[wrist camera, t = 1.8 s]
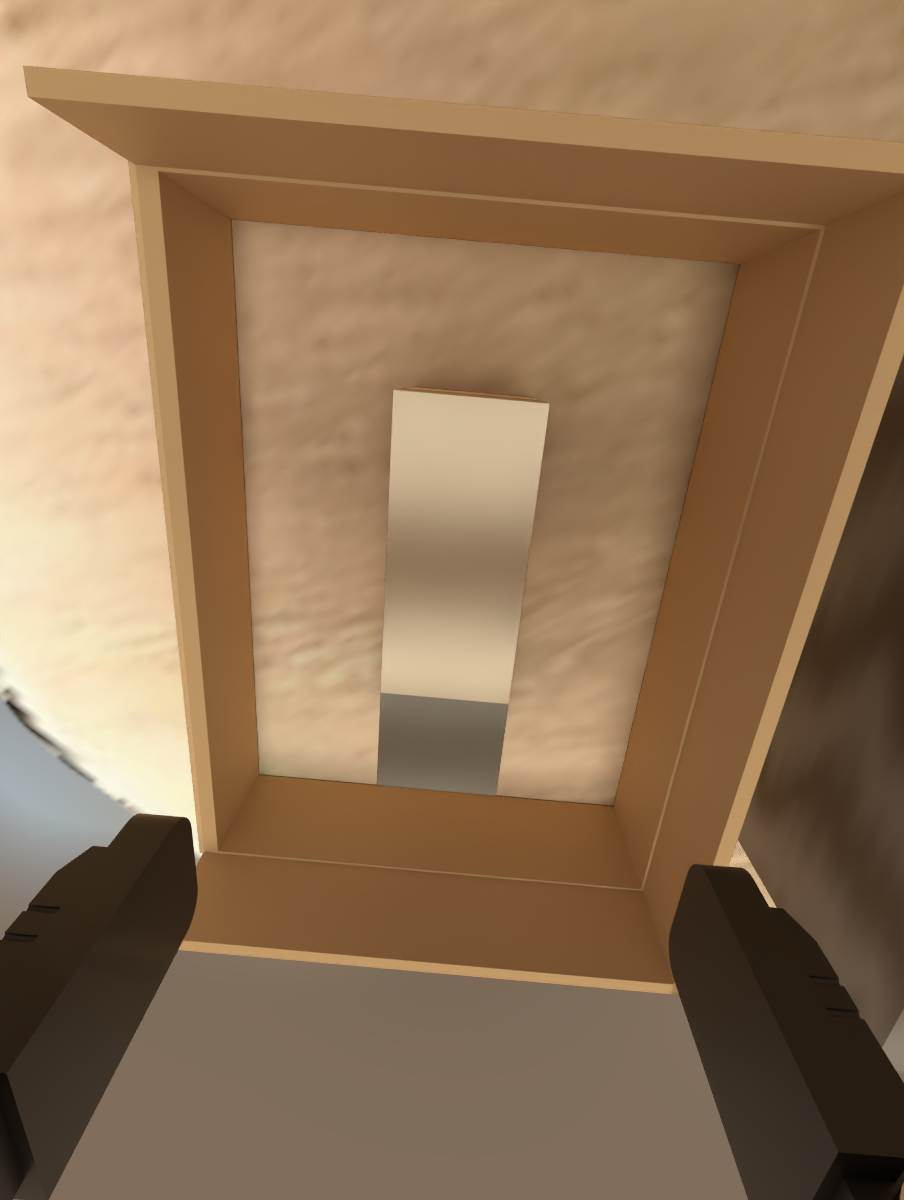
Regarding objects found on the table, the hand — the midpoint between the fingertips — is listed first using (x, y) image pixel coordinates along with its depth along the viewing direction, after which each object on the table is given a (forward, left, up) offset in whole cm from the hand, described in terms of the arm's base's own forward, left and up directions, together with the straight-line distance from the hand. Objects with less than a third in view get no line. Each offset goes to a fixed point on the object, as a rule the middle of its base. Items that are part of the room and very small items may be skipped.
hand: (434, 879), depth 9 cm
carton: (0, 0, -16) cm, 16 cm away
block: (0, 0, -16) cm, 16 cm away
